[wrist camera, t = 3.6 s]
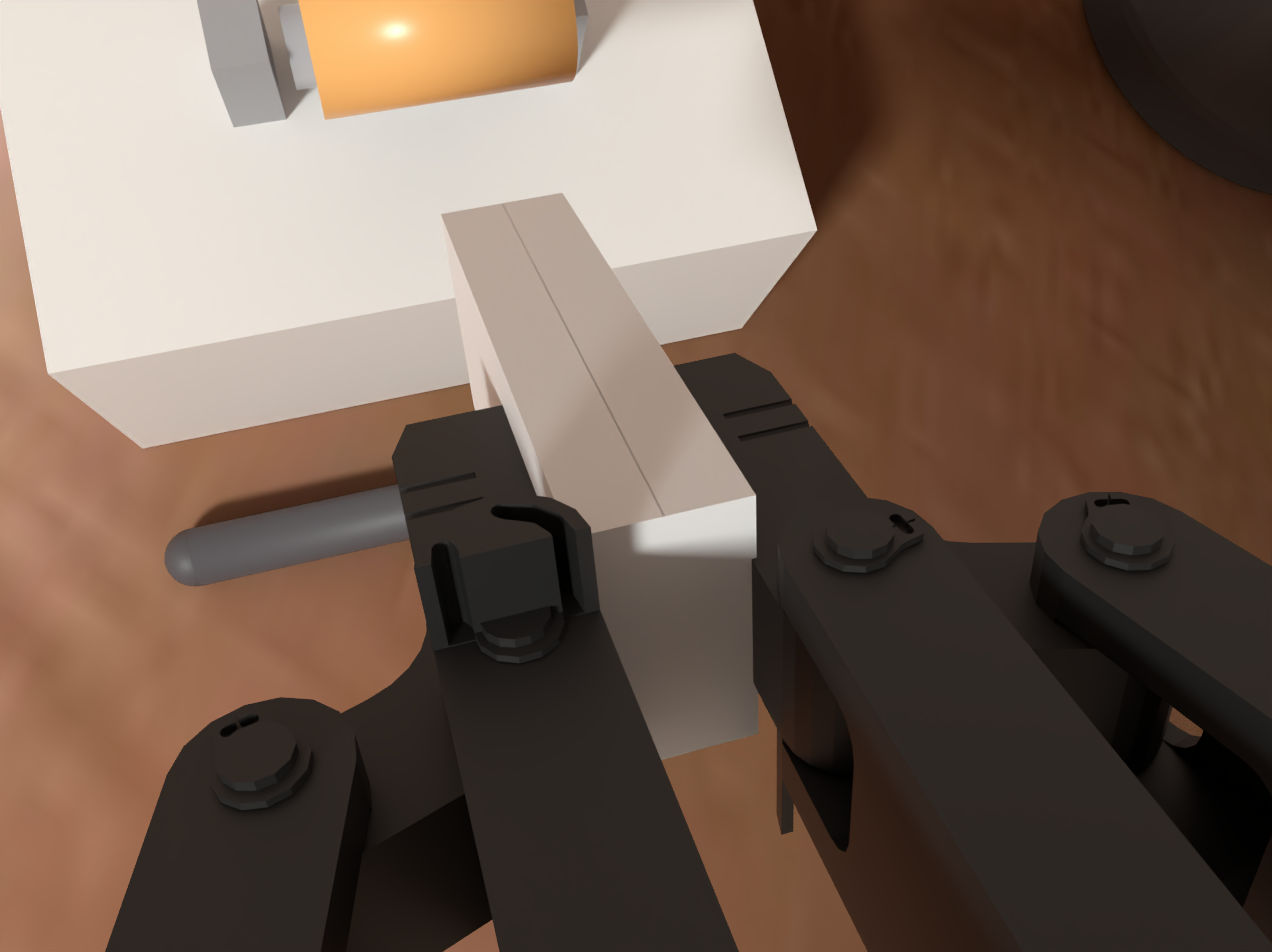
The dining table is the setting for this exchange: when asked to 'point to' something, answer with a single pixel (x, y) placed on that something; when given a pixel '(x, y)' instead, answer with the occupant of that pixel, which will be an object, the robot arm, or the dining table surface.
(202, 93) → the breaker box
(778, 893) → the dining table surface
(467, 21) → the breaker lever
